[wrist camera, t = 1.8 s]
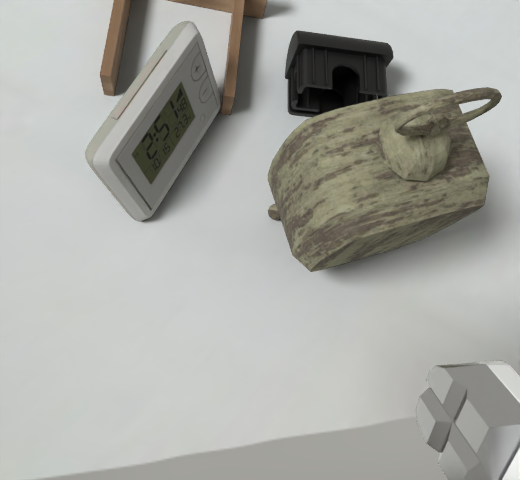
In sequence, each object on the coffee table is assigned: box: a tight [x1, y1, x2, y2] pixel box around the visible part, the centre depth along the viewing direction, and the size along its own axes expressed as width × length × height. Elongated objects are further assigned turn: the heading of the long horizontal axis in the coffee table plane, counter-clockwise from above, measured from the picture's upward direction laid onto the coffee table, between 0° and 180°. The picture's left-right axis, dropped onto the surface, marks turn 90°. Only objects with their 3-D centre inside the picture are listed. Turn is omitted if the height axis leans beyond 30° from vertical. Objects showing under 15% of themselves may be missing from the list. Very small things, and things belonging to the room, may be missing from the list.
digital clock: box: [85, 21, 221, 221], centre depth 45 cm, size 16×9×11 cm, turn 141°
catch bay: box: [100, 0, 267, 115], centre depth 51 cm, size 18×14×5 cm
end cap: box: [285, 31, 393, 117], centre depth 53 cm, size 10×7×7 cm
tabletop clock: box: [268, 87, 502, 272], centre depth 39 cm, size 14×9×25 cm, turn 107°
